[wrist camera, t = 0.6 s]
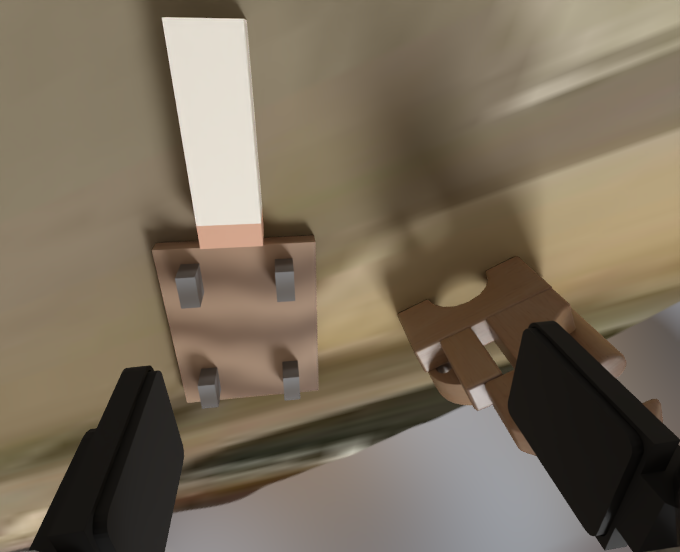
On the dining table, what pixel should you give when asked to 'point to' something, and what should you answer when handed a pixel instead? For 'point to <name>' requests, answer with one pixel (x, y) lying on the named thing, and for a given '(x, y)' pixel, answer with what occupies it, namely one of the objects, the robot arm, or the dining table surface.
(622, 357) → the wooden toy
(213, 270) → the brown fixture board
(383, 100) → the dining table surface
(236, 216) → the block
